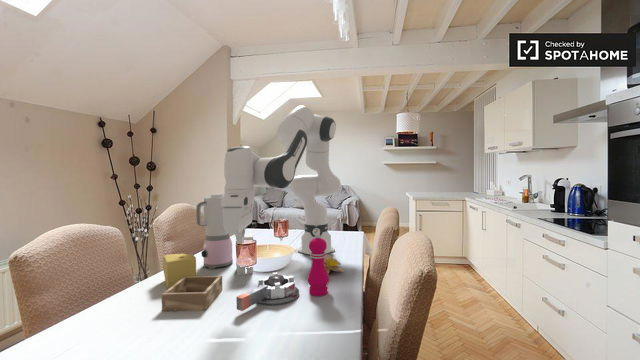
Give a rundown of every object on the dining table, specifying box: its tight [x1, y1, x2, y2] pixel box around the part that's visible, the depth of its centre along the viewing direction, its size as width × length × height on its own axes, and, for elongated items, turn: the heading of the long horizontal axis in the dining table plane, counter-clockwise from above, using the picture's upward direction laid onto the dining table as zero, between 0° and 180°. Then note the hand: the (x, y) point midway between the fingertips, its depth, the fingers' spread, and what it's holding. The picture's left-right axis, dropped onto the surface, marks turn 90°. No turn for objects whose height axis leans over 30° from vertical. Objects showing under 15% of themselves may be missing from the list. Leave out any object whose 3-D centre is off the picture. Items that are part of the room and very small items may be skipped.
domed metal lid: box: [256, 274, 300, 306], centre depth 95 cm, size 15×15×6 cm
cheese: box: [162, 253, 197, 290], centre depth 108 cm, size 10×11×10 cm
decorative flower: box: [324, 253, 345, 275], centre depth 116 cm, size 15×11×10 cm
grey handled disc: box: [235, 271, 296, 312], centre depth 90 cm, size 22×12×4 cm, turn 148°
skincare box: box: [236, 232, 254, 276], centre depth 118 cm, size 8×7×16 cm
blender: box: [195, 193, 233, 270], centre depth 126 cm, size 16×12×32 cm
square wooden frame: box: [161, 275, 223, 312], centre depth 92 cm, size 15×13×5 cm
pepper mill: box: [307, 233, 330, 297], centre depth 96 cm, size 7×7×20 cm
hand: (240, 242), depth 89 cm, fingers closed
